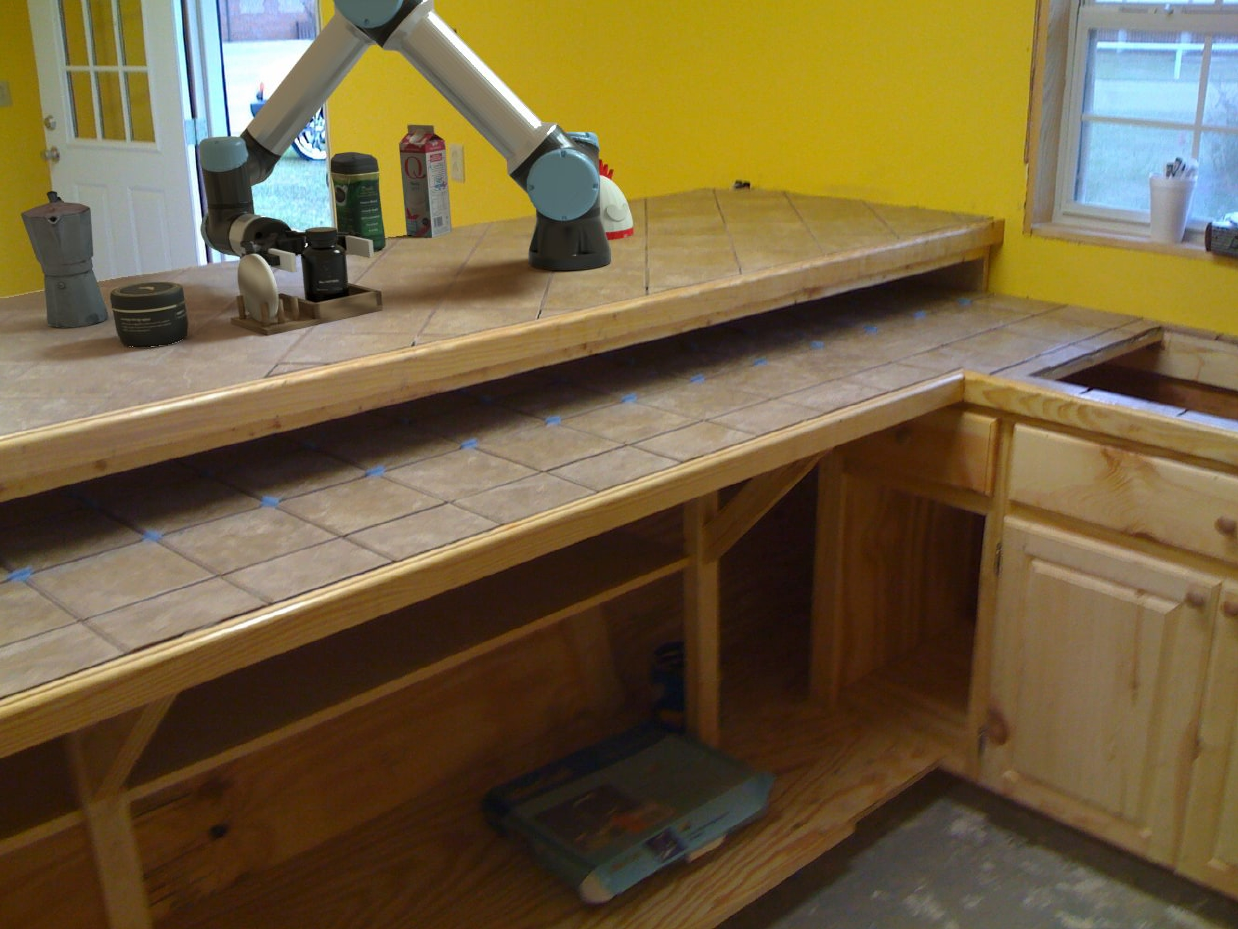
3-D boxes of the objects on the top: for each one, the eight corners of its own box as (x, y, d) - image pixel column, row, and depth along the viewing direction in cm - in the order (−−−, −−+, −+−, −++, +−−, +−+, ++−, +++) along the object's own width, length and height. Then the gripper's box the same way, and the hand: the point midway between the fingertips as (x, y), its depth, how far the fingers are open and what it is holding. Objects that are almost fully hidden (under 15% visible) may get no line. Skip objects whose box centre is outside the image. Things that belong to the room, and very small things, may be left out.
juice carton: (432, 237, 244) (423, 126, 236) (406, 235, 247) (397, 125, 239) (451, 232, 249) (443, 123, 241) (426, 230, 252) (417, 122, 244)
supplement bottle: (328, 312, 182) (319, 234, 178) (296, 308, 185) (287, 230, 181) (360, 303, 187) (352, 227, 183) (328, 299, 191) (320, 223, 186)
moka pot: (42, 335, 176) (14, 199, 169) (44, 313, 189) (18, 185, 182) (111, 328, 179) (87, 193, 172) (108, 306, 193) (85, 181, 185)
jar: (137, 331, 178) (129, 280, 175) (202, 331, 177) (194, 280, 174) (105, 349, 168) (95, 296, 166) (173, 349, 167) (164, 296, 165)
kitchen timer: (552, 235, 244) (548, 160, 239) (601, 226, 253) (599, 153, 247) (597, 243, 235) (594, 165, 229) (647, 233, 243) (646, 158, 238)
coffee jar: (393, 249, 233) (384, 152, 226) (356, 255, 228) (346, 156, 222) (368, 243, 240) (359, 148, 233) (332, 248, 235) (322, 152, 228)
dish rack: (344, 299, 194) (337, 233, 190) (382, 310, 186) (376, 241, 183) (231, 323, 181) (221, 252, 177) (267, 335, 173) (258, 261, 170)
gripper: (331, 250, 205) (403, 267, 191) (195, 274, 188) (262, 294, 174) (326, 206, 202) (399, 220, 188) (187, 227, 186) (255, 243, 172)
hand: (333, 256), depth 181 cm, fingers open, 13 cm apart
